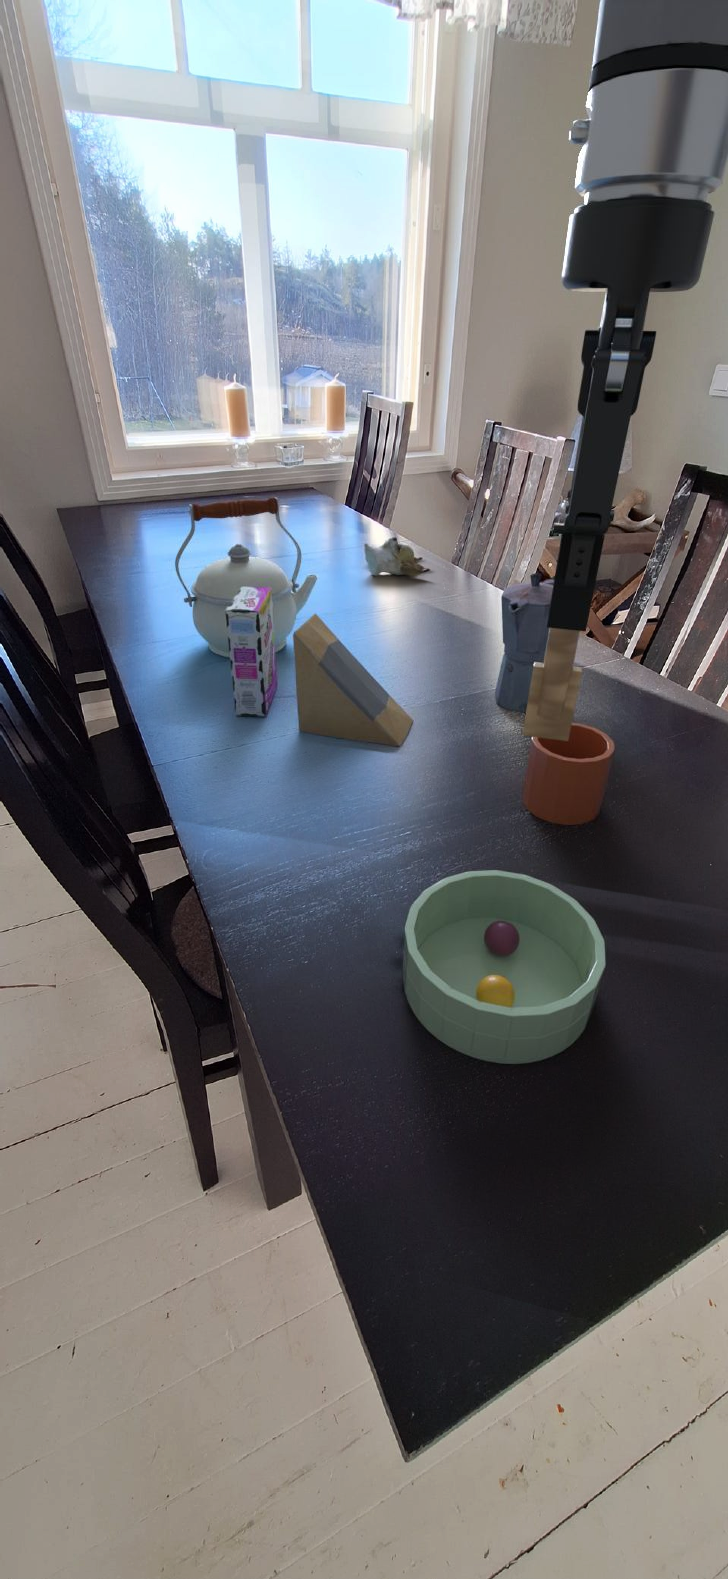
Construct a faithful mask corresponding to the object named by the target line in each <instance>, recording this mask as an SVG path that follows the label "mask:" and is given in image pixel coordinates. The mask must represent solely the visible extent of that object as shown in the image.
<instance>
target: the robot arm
mask: <svg viewBox="0 0 728 1579" xmlns="http://www.w3.org/2000/svg"><path fill="white" fill-rule="evenodd" d="M593 48H594V49H593V56H592V63H591V64H592V65H591V70H590V77H589V83H588V90H587V94H588V95H587V101H586V105H585V108H586V113H587V116H588V119H577V120H574V121H573V123H572V126H571V128H570V130H569V136H568V137H569V138H568V140H569V142H570V143H571V145H575V146H582V149H581V151H580V153H579V156H578V163H577V168H576V178H575V185H574V189H575V191H576V192H577V194H578V195H579V196H580V197H582V198H584V204H581V205H579V206H577V207H575V208H574V212H573V213H572V214H570V215H569V220H568V226H567V227H568V228H567V235H566V243H565V248H564V257H563V262H562V264H563V265H562V270H561V271H562V272H561V283H562V286H563V287H564V288H565V289H566V290H568V291H572V292H584V293H586V292H587V293H605V295H604V301H603V306H602V313H601V318H600V323H599V326H598V327H597V329H585V330H584V336H583V342H582V347H581V348H582V349H581V355H580V363H581V365H582V367H583V368H582V373H581V380H580V385H579V393H578V399H577V408H576V409H577V412H578V414H579V415H581V423H580V430H579V435H578V436H579V437H578V443H577V448H576V454H575V459H574V460H575V461H574V465H573V472H572V479H571V484H570V489H568V491H567V495H566V496H567V497H566V499H567V502H568V504H566V505H565V511H564V514H565V519H564V520H563V523H562V522H554V525H553V532H552V534H556V535H561V536H560V542H559V549H558V553H557V554H558V555H557V560H556V566H555V572H554V576H555V578H554V584H553V590H552V596H551V602H550V608H549V616H548V622H547V628H557V629H567V630H576V631H580V632H587V628H588V622H589V619H590V618H589V617H590V612H591V608H592V602H593V597H594V592H595V587H596V582H597V577H598V573H599V567H600V561H601V558H602V552H603V547H604V542H605V537H606V536H605V535H606V534H607V532H608V531H609V528H610V527H611V523H612V522H614V519H615V509H613V503H614V498H615V493H616V488H617V484H618V480H619V475H620V470H621V465H622V460H623V456H624V451H625V446H626V441H627V437H628V431H629V426H630V422H631V417H632V416H633V415H634V414H635V413H636V412H637V409H638V405H639V400H640V396H641V390H642V386H643V380H644V374H645V370H646V367H647V366H648V365H649V363H651V360H652V358H653V353H654V349H655V348H654V347H655V343H656V338H657V330H644V328H645V323H646V316H647V311H648V306H649V297H650V293H674V292H684V291H689V290H691V289H692V288H694V287H695V286H696V285H697V284H698V282H699V281H700V278H701V274H702V270H703V266H704V261H705V257H706V253H707V249H708V244H709V240H710V235H711V230H712V226H713V222H714V218H715V211H714V210H713V209H712V204H711V203H709V202H707V199H708V195H709V194H712V193H714V192H716V190H718V189H719V188H720V186H722V185H723V183H724V179H725V174H726V171H727V170H726V169H727V165H728V0H599V6H598V16H597V24H596V32H595V41H594V47H593Z"/></svg>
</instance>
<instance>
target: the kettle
mask: <svg viewBox="0 0 728 1579" xmlns="http://www.w3.org/2000/svg"><path fill="white" fill-rule="evenodd" d="M188 507H189V510H188V515H189V516H190V522H191V524H190V525H191V527H190V531H189V533H188V535H187V537H186V538H185V539H184V541H183V543H182V544H181V546H180V548H179V549H178V552H177V554H176V557H175V560H174V567H175V573H176V575H177V577H178V579H179V581H180V584H181V586H183V588H184V590H185V592H186V594H187V597H184V598H183V602H184V603H185V604H186V603H188V606H189V607H190V608H192V622H193V625H194V628H195V630H196V631H197V633H198V634H199V636H200V637H201V638H202V639H203V640H205V641H206V642H207V644H208V649H209V650H210V651H211V652H213V653H214V654H215V655H218V656H220V657H225V658H229V659H230V653H229V643H228V633H227V622H226V614H225V610H226V609H227V607H228V606H229V604H230V603H231V601H232V600H233V598H234V597H235V596H236V594H237V593H238V591H239V590H240V588H241V587H268V588H272V603H273V619H274V638H275V654H276V653H278V652H279V651H281V650H282V649H284V647H285V646H286V644H287V638H288V636H289V635H290V634H291V632H292V631H293V629H294V627H295V624H296V619H297V615H298V614H299V613H300V612H301V610H302V609H303V608H304V607H305V605H306V603H307V601H308V600H309V597H310V596H311V594H312V591H313V589H314V588H315V586H316V582H317V580H318V578H319V576H318V575H315V574H307V576H306V577H305V579H304V581H303V582H302V583H301V585H300V584H299V583H298V582H296V581H297V578H298V575H299V572H300V569H301V564H302V550H301V546H300V544H299V543H298V541H297V540H296V539H295V538H294V537H293V535H292V534H291V533H290V532H289V531H288V530H287V529H286V527H285V526H284V525H283V524H282V521H281V517H280V502H279V498H278V497H276V496H269V497H268V498H267V499H257V498H256V499H254V498H247V499H242V500H240V499H237V500H235V499H234V500H228V501H215V502H210V503H206V504H201V505H200V504H199V503H197V502H195V503H192V504H191V503H190V504H189V506H188ZM264 513H269V514H271V515H275V520H276V523H277V524H278V525H279V527H280V528H281V529H282V531H284V533H285V534H286V535H287V536H288V537H289V538H290V539H291V541H292V543H293V544H294V545H295V548H296V554H297V555H296V556H297V557H296V563H295V567H294V570H293V573H292V576H291V578H289V577H287V575H286V573H285V571H284V570H283V569H282V568H281V567H280V566H279V565H278V564H276V563H274V562H273V561H270V560H268V559H266V558H262V557H257V556H251V555H252V551H251V550H249V548H248V547H246V546H245V545H243V544H241V543H236V544H235V545H234V546H232V547H230V549H229V551H228V552H227V556H228V557H224V558H221V559H217V560H215V561H213V562H211V563H209V564H208V565H206V566H204V567H203V568H202V570H200V572H199V574H198V575H197V577H196V581H194V583H193V584H192V585H191V586H190V591H189V590H188V588H187V586H186V585H185V582H184V580H183V579H182V577H181V573H180V568H179V563H180V559H181V557H182V554H183V553H184V551H185V550H186V548H187V547H188V545H189V543H190V541H191V539H192V538H193V536H194V535H195V530H196V522H200V521H201V520H203V519H227V518H238V517H239V518H242V517H252V516H257V515H261V514H264ZM190 592H191V593H190ZM191 594H192V595H193V596H192V595H191Z"/></svg>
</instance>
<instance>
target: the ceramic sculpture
mask: <svg viewBox="0 0 728 1579" xmlns="http://www.w3.org/2000/svg"><path fill="white" fill-rule="evenodd" d="M363 547H364V557H365V558H364V560H365V562H366V563H367V566H368V570H369V572H370V574H371V575H373V576H375V577H377V576H379V575H380V574H381V573H386V574H387V573H388V574H391V575H393V574H395V575H396V576H402V575H408V576H418V575H423V574H425V573H428V572H430V571H431V569H430V568H427V567H424V566H423V565H422V564H420V563H419V562H421V561H422V560H423V557H420V556H419V557H416V556H415V552H414V549H413V548H412V546H411V545H410V544H408V543H407V542H404V541H402V542H400V541H398V538H397V536H395V537H390V538H388V539H387V540H385V541H384V543H383V544H381V545H378V546H377V545H374V544H370V543H367V542H366V543H365V542H364V545H363ZM395 575H394V576H395Z"/></svg>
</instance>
